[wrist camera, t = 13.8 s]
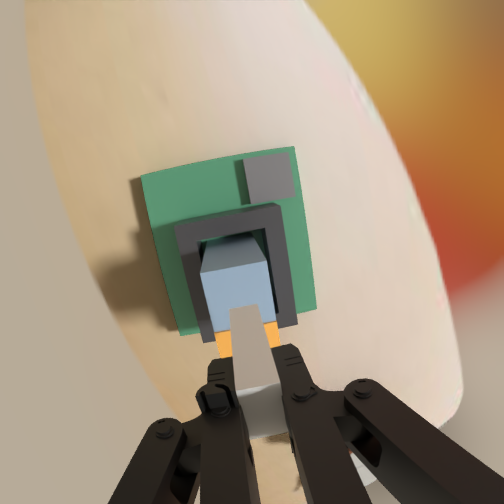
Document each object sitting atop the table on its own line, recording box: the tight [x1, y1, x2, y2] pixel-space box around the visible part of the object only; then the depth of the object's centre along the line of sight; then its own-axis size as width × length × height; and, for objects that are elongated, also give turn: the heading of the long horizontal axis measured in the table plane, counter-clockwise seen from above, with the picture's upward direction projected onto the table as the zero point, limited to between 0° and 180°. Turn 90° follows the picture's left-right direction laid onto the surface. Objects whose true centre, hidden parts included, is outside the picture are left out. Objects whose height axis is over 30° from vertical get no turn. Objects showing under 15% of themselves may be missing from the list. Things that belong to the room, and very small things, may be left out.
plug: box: [200, 232, 281, 358], centre depth 23 cm, size 6×4×10 cm, turn 10°
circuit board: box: [141, 146, 317, 343], centre depth 27 cm, size 16×14×5 cm
